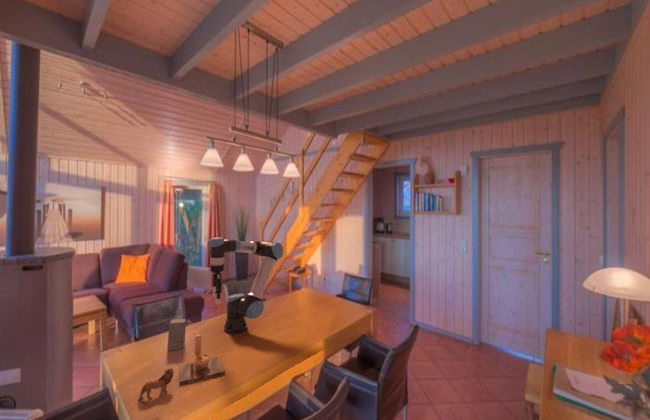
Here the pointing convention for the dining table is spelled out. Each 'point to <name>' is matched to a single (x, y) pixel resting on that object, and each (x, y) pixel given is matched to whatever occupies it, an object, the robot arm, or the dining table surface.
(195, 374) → the board
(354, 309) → the dining table surface
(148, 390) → the lion figurine
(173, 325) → the skincare box
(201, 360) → the tan piece
